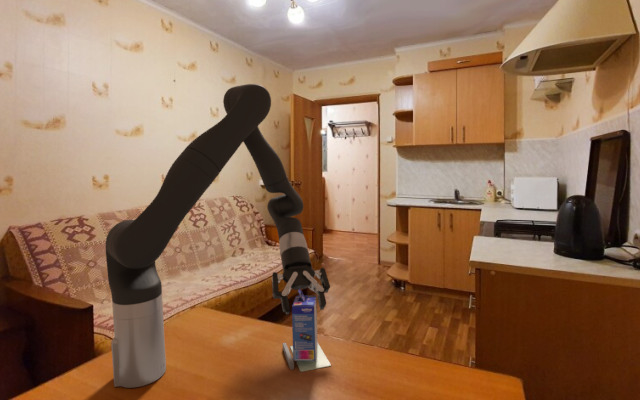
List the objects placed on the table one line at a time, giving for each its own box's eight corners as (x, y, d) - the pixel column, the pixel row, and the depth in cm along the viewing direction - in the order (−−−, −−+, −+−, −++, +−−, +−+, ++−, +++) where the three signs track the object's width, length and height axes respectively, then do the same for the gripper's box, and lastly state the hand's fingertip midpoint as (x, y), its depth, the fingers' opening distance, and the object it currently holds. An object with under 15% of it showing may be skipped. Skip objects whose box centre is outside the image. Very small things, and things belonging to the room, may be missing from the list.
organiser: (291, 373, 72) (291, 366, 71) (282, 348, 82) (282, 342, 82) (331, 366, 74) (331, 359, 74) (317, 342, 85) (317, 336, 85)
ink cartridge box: (295, 344, 83) (295, 285, 84) (317, 344, 83) (317, 285, 84) (291, 361, 73) (291, 294, 74) (316, 361, 73) (316, 294, 74)
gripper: (269, 247, 86) (277, 308, 75) (322, 243, 90) (337, 300, 80) (266, 262, 91) (274, 321, 81) (317, 258, 95) (330, 313, 85)
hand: (305, 310), depth 80 cm, fingers open, 8 cm apart
